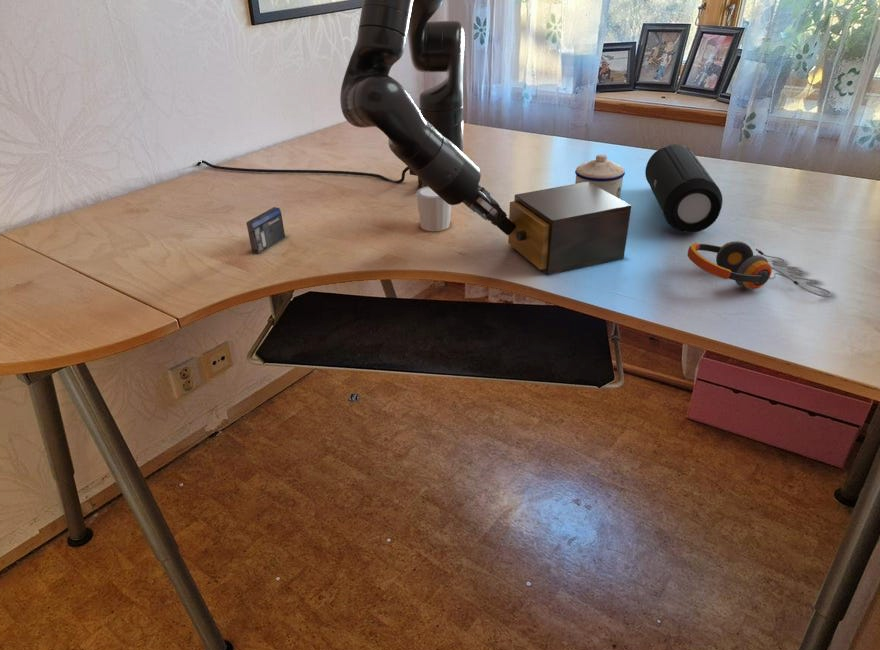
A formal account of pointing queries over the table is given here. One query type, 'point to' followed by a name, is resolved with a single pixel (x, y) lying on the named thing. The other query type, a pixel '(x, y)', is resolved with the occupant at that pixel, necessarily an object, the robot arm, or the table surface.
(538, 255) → the wooden drawer
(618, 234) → the cabinet
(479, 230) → the table surface
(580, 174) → the teacup with lid
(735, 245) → the headphones
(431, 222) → the white faceted cylinder
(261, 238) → the mini dv tape
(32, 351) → the table surface
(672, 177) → the portable speaker
